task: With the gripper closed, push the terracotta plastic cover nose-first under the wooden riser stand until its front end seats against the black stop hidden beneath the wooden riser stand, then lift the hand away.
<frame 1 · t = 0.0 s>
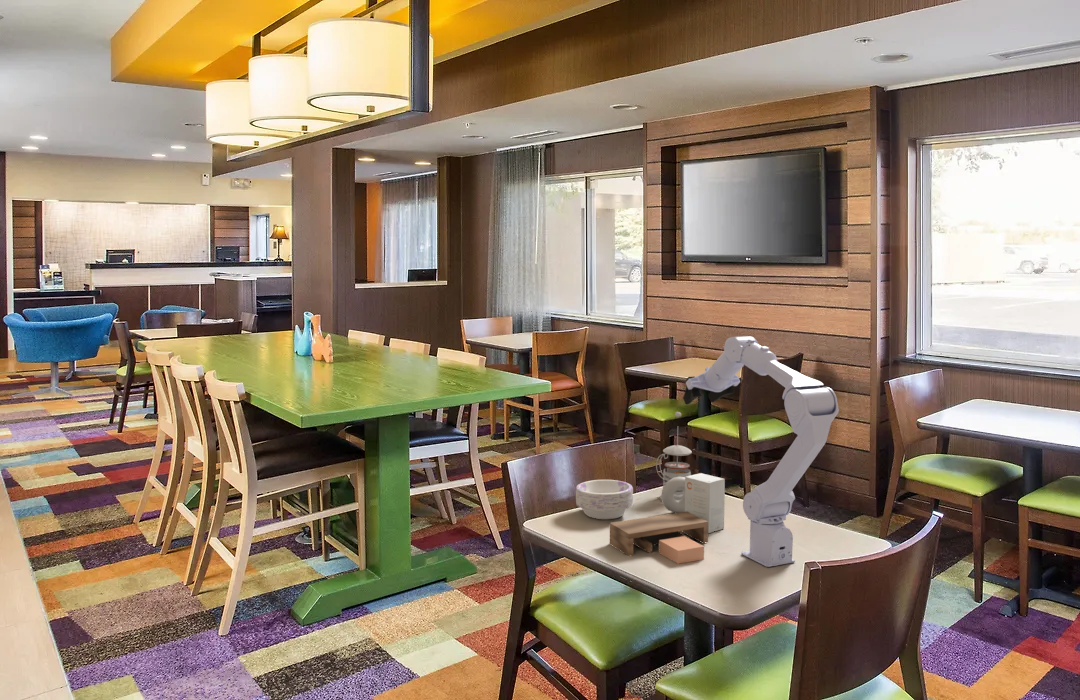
hand: (698, 400, 217), 32 cm above the table, tool tilted 50°, fingers open, 7 cm apart
donut: (678, 513, 229), on the table
small box: (704, 528, 217), on the table
paper bowls: (604, 515, 228), on the table
wooden riser stand: (658, 543, 205), on the table
french press: (673, 498, 244), on the table
cover: (681, 555, 196), on the table
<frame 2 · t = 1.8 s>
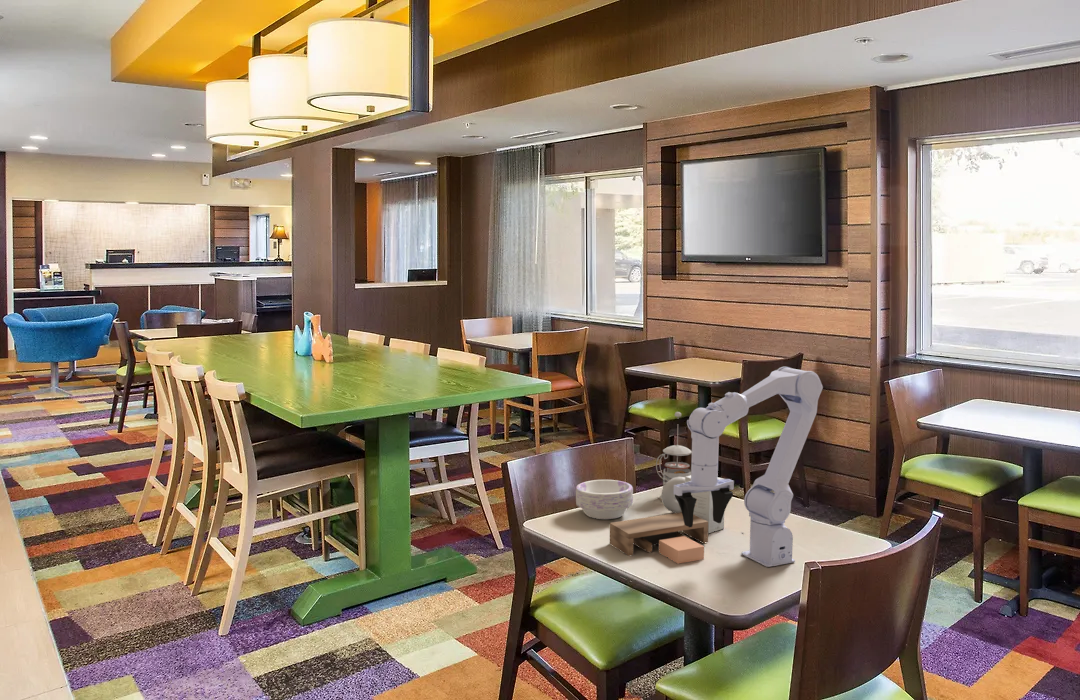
hand: (702, 523, 187), 10 cm above the table, tool pointing down, fingers open, 7 cm apart
nothing on the table moved.
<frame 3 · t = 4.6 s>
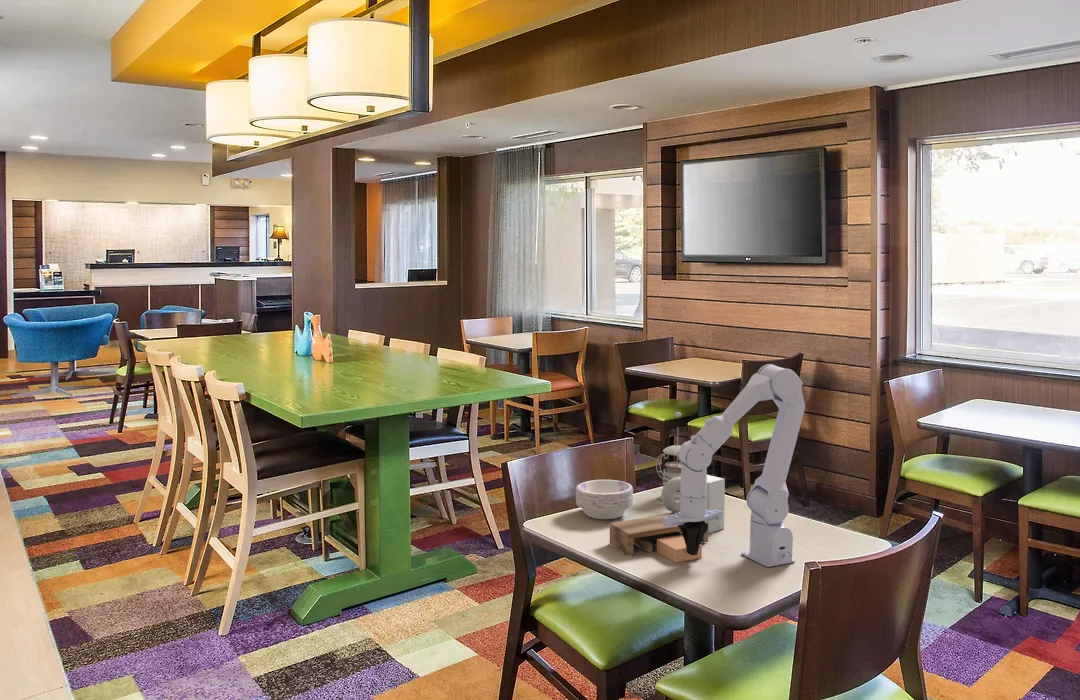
hand: (692, 553, 192), 2 cm above the table, tool pointing down, fingers closed, pressing on cover
cover: (678, 554, 197), on the table, touching gripper
everything else where it was.
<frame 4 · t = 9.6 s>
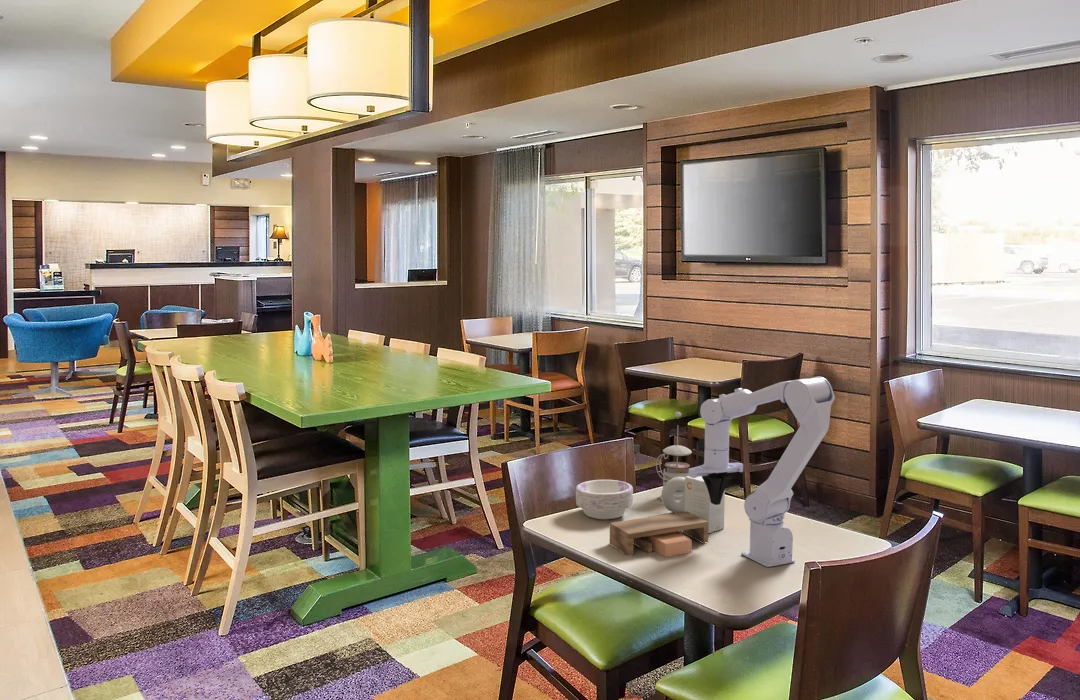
hand: (715, 503, 205), 9 cm above the table, tool pointing down, fingers closed
cover: (669, 549, 201), on the table
everything else where it was.
at the end: cover 0.0 cm from the target spot on the wooden riser stand, point 0.0 cm above the wooden riser stand's base; cover tilted 0°; cover moved 5.0 cm from its start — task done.
